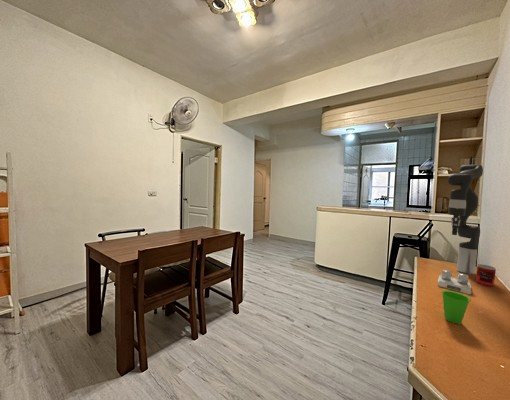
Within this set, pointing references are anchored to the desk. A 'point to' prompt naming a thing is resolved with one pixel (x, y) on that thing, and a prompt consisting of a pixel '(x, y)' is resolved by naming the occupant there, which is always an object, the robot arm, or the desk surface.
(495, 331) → the desk surface
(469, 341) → the desk surface
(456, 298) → the cup
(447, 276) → the disc
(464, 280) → the cylinder
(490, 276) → the canned food
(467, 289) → the scale
